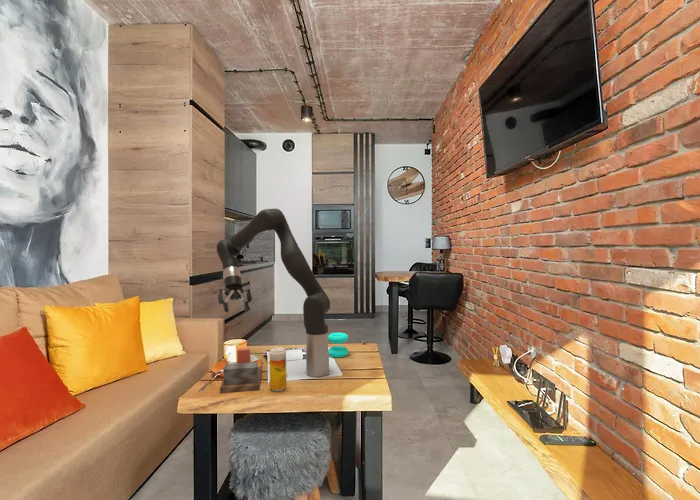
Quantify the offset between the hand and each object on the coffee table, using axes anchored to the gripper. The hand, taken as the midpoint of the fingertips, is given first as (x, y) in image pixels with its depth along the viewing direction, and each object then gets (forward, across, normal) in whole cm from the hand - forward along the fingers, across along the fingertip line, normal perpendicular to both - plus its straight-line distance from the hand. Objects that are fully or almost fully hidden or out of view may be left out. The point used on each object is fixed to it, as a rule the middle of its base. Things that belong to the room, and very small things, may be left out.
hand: (237, 311), depth 162 cm
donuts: (+24, +47, +2) cm, 53 cm away
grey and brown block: (+30, -2, 0) cm, 30 cm away
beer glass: (+38, +7, -13) cm, 41 cm away
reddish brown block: (+25, +1, +3) cm, 25 cm away
